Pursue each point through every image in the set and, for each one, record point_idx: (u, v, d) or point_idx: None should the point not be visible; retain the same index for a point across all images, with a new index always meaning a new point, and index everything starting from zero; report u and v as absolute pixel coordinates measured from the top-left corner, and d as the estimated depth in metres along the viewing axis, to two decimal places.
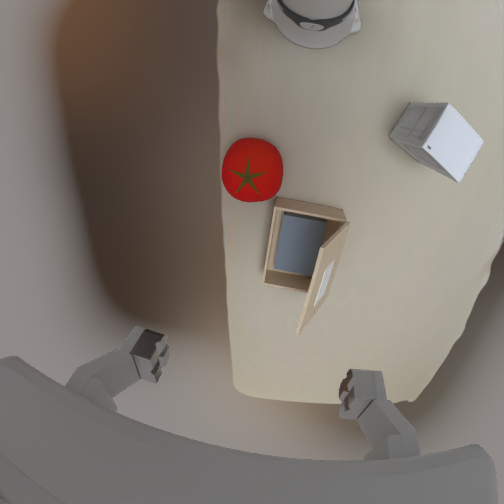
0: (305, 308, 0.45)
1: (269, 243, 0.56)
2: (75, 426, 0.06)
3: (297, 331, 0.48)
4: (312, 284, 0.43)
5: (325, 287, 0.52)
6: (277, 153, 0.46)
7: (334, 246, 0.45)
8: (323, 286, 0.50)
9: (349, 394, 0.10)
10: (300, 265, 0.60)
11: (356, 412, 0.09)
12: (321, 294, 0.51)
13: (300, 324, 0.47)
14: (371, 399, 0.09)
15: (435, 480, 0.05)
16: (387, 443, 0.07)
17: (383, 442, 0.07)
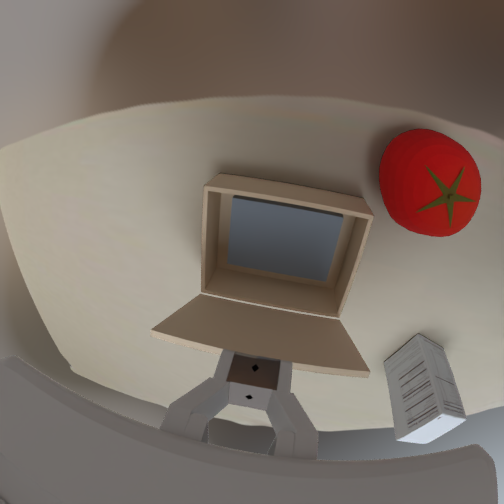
0: None
1: (300, 203, 0.28)
2: (75, 426, 0.06)
3: (159, 335, 0.21)
4: None
5: None
6: None
7: None
8: None
9: None
10: (246, 243, 0.34)
11: (261, 402, 0.10)
12: None
13: (180, 342, 0.21)
14: (271, 389, 0.09)
15: (435, 480, 0.05)
16: (276, 439, 0.07)
17: (275, 437, 0.08)
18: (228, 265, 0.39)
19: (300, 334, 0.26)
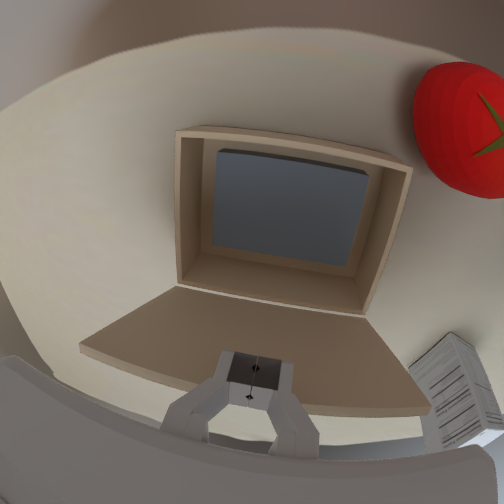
0: None
1: (312, 147, 0.18)
2: (75, 426, 0.06)
3: (91, 352, 0.12)
4: (307, 410, 0.10)
5: None
6: None
7: None
8: None
9: (253, 382, 0.10)
10: (236, 214, 0.25)
11: (262, 402, 0.10)
12: None
13: (121, 366, 0.11)
14: (271, 389, 0.09)
15: (435, 480, 0.05)
16: (277, 439, 0.07)
17: (276, 437, 0.08)
18: (215, 249, 0.30)
19: (317, 346, 0.17)
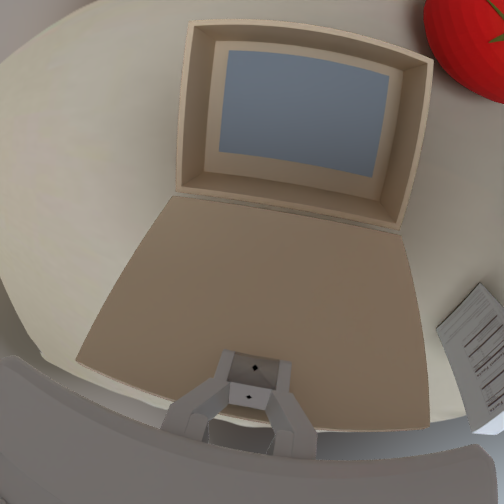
0: None
1: (330, 30, 0.14)
2: (75, 426, 0.06)
3: (89, 367, 0.11)
4: None
5: None
6: None
7: None
8: None
9: None
10: (248, 114, 0.20)
11: (260, 402, 0.10)
12: None
13: (120, 381, 0.11)
14: (269, 389, 0.09)
15: (435, 480, 0.05)
16: (275, 438, 0.07)
17: (274, 437, 0.08)
18: (221, 166, 0.25)
19: (336, 308, 0.14)
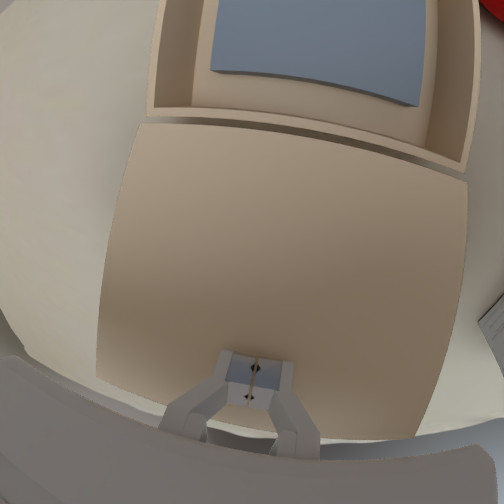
0: None
1: None
2: (75, 426, 0.06)
3: None
4: None
5: None
6: None
7: None
8: None
9: None
10: (250, 22, 0.12)
11: (263, 402, 0.10)
12: None
13: None
14: (272, 389, 0.09)
15: (435, 480, 0.05)
16: (278, 439, 0.07)
17: None
18: (214, 97, 0.17)
19: (359, 315, 0.11)
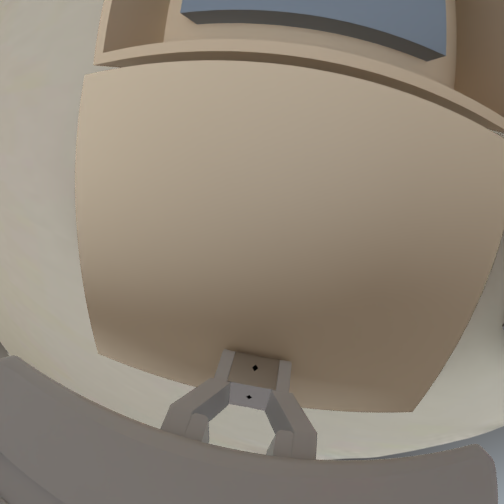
0: None
1: None
2: (75, 426, 0.06)
3: None
4: None
5: None
6: None
7: None
8: None
9: None
10: None
11: (260, 402, 0.10)
12: None
13: None
14: (269, 389, 0.09)
15: (435, 480, 0.05)
16: (275, 438, 0.07)
17: (274, 437, 0.08)
18: None
19: (368, 302, 0.10)
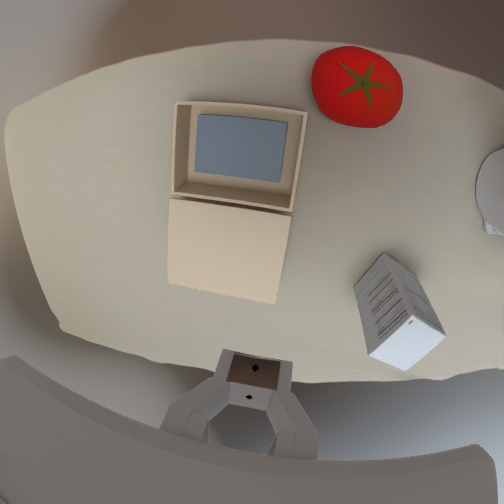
0: None
1: (246, 105, 0.32)
2: (75, 426, 0.06)
3: None
4: None
5: None
6: (385, 123, 0.30)
7: None
8: None
9: None
10: (209, 151, 0.39)
11: (261, 402, 0.10)
12: None
13: None
14: (271, 389, 0.09)
15: (435, 480, 0.05)
16: (276, 439, 0.07)
17: (275, 437, 0.08)
18: (197, 179, 0.44)
19: (245, 260, 0.41)
